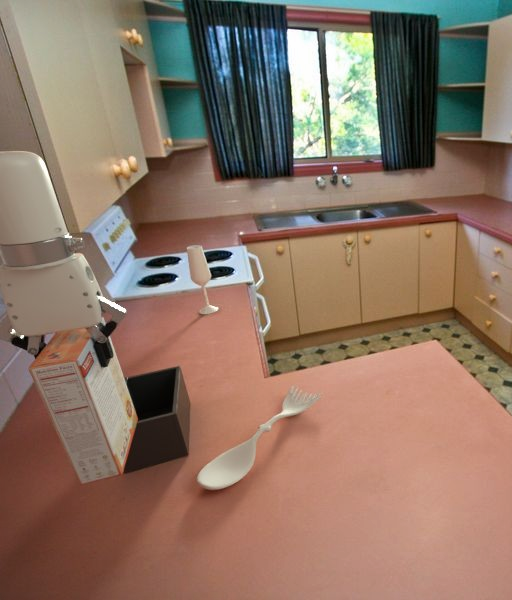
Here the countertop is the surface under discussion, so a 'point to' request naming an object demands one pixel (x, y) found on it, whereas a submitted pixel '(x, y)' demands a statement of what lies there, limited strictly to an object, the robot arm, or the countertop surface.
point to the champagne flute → (200, 273)
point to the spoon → (248, 447)
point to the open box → (158, 418)
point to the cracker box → (86, 404)
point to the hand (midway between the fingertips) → (80, 367)
